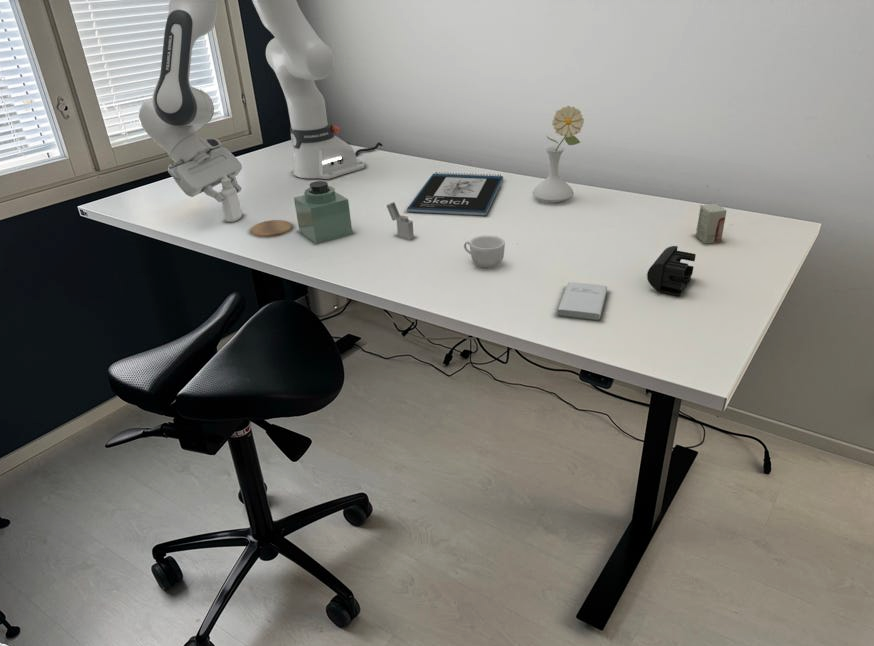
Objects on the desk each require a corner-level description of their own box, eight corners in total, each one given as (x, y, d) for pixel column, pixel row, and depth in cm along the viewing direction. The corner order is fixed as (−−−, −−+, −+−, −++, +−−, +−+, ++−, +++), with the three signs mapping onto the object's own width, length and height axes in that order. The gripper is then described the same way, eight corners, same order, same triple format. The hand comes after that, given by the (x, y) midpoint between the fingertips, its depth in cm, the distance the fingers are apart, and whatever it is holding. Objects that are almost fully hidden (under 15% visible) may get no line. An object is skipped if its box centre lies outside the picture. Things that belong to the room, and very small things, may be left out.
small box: (721, 242, 160) (727, 210, 155) (704, 244, 159) (710, 212, 155) (711, 234, 164) (717, 203, 159) (694, 236, 163) (700, 204, 159)
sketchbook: (407, 213, 182) (406, 205, 181) (434, 177, 207) (433, 171, 206) (486, 216, 178) (485, 208, 177) (503, 180, 203) (503, 173, 202)
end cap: (659, 272, 147) (663, 243, 144) (692, 278, 144) (697, 249, 140) (644, 290, 140) (648, 260, 136) (678, 298, 137) (683, 267, 133)
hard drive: (557, 316, 132) (567, 288, 142) (599, 321, 130) (606, 292, 140) (557, 308, 131) (567, 281, 141) (600, 313, 129) (607, 285, 139)
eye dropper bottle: (247, 217, 182) (238, 173, 176) (230, 223, 179) (219, 178, 172) (238, 213, 185) (228, 170, 178) (220, 219, 181) (210, 175, 175)
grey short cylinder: (324, 187, 168) (322, 179, 167) (331, 192, 165) (330, 184, 164) (307, 191, 166) (306, 183, 165) (315, 196, 163) (314, 188, 162)
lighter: (414, 237, 167) (412, 206, 163) (409, 239, 166) (407, 208, 162) (393, 231, 171) (390, 200, 167) (388, 233, 170) (385, 202, 166)
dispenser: (334, 222, 177) (329, 181, 171) (352, 233, 170) (347, 191, 164) (299, 231, 173) (292, 189, 167) (316, 243, 166) (309, 200, 160)
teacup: (510, 261, 154) (511, 239, 151) (494, 274, 148) (493, 251, 146) (473, 253, 158) (472, 231, 156) (455, 265, 153) (454, 243, 150)
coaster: (282, 219, 180) (282, 217, 180) (297, 230, 173) (297, 228, 173) (246, 228, 175) (245, 226, 175) (260, 240, 169) (260, 237, 168)
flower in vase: (526, 203, 185) (529, 108, 172) (538, 190, 194) (542, 99, 180) (573, 208, 181) (579, 111, 167) (583, 194, 190) (590, 101, 176)
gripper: (168, 159, 166) (210, 201, 168) (221, 137, 182) (259, 176, 184) (159, 175, 170) (200, 216, 172) (212, 152, 185) (248, 190, 188)
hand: (231, 195), depth 178 cm, fingers closed on eye dropper bottle, 5 cm apart
